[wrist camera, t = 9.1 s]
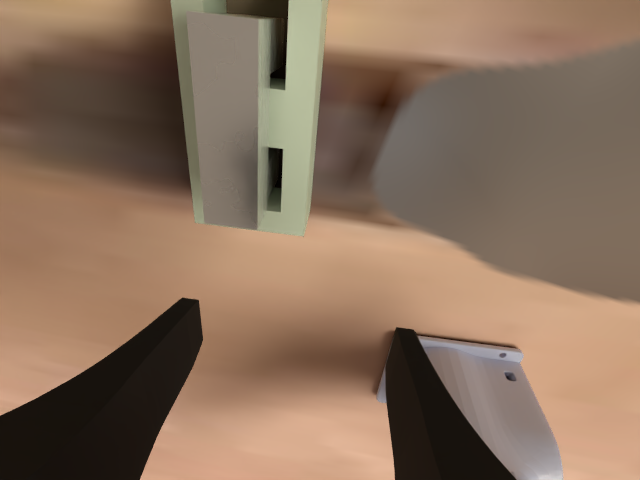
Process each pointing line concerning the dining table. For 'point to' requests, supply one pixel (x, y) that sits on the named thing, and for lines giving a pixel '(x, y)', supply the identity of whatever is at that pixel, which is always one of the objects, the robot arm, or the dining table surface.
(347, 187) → the dining table surface
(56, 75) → the dining table surface
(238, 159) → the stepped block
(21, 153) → the dining table surface
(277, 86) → the slotted block
